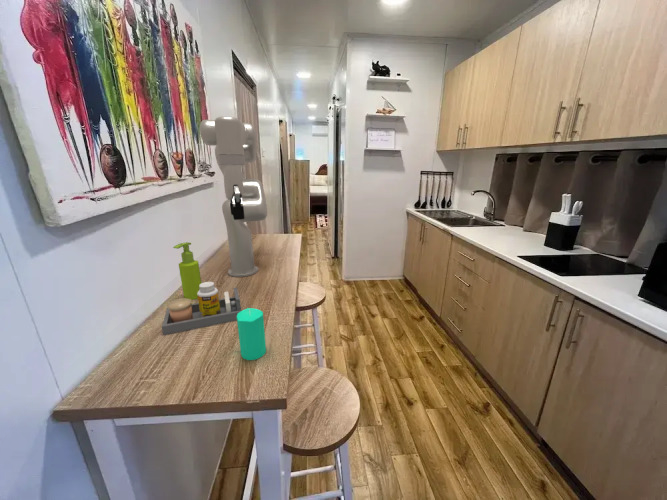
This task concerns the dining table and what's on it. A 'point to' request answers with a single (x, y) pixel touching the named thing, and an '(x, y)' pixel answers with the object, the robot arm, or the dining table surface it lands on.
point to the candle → (251, 333)
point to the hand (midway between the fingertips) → (237, 216)
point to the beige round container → (180, 310)
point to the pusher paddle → (227, 302)
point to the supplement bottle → (208, 299)
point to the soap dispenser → (189, 272)
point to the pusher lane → (203, 321)
